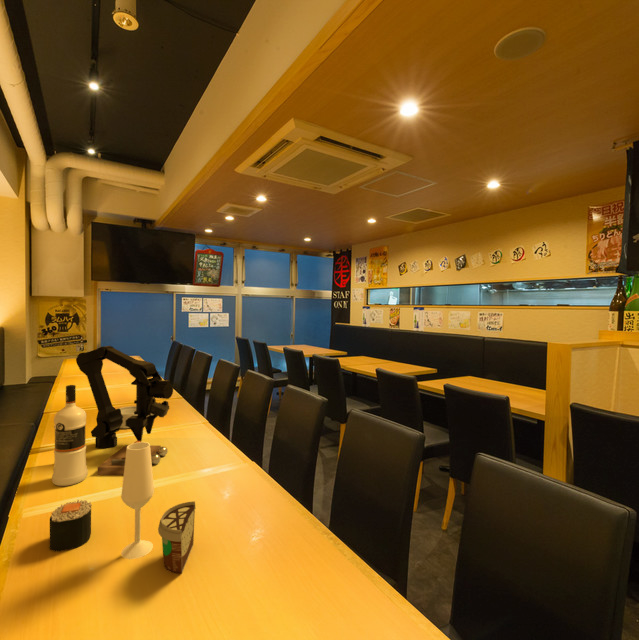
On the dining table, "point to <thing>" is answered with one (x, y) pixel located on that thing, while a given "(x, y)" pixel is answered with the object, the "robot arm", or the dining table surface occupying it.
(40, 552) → the dining table surface
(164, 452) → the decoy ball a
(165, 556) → the food container
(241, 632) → the dining table surface
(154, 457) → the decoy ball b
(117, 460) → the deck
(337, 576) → the dining table surface
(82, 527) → the sushi
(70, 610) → the dining table surface
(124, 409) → the ramekin
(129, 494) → the champagne flute
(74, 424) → the vodka
